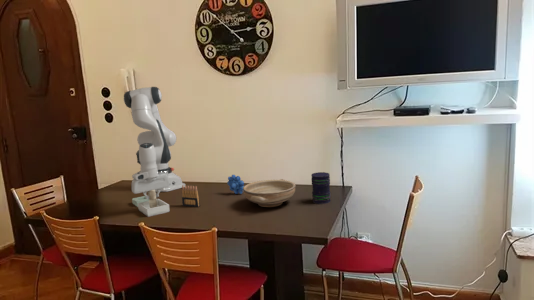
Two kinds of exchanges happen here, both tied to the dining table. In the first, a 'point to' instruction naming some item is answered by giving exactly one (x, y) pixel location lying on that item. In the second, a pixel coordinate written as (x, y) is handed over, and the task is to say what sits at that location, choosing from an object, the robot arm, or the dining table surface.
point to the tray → (148, 211)
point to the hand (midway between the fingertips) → (152, 198)
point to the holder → (139, 200)
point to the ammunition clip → (190, 196)
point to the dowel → (152, 198)
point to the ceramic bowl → (269, 192)
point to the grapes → (235, 184)
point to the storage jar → (321, 188)
